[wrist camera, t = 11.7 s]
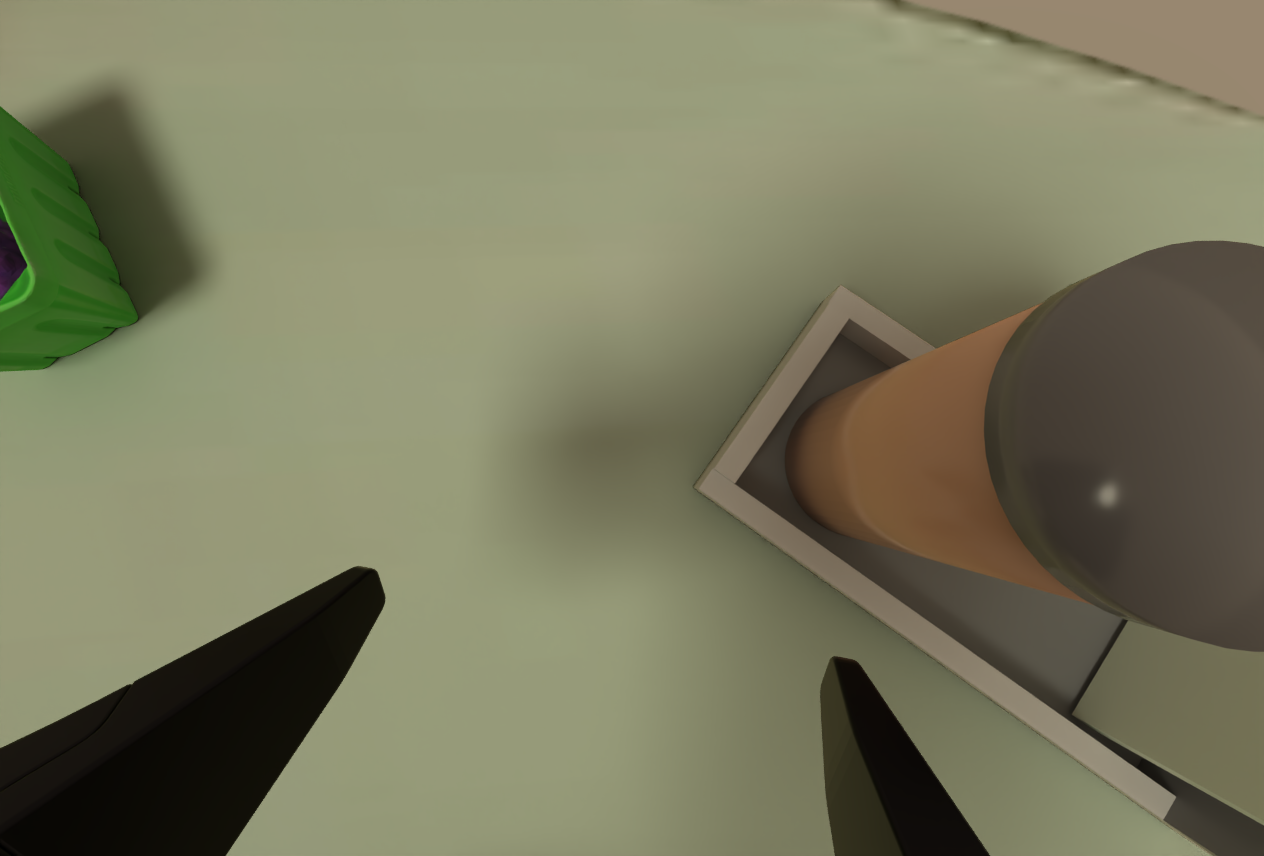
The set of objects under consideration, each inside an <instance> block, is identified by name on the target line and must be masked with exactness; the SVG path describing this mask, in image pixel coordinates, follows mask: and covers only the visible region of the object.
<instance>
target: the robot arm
mask: <svg viewBox="0 0 1264 856" xmlns="http://www.w3.org/2000/svg"><path fill="white" fill-rule="evenodd" d="M384 604H385V593H384V590H383V587H382V584H381V581H380V578H379V575H378V572H377V571H376V570H375V569H372V568H367V567H362V566H356V567H353V568H351V569H349V570H347V571H345V572H343V573H341V574H339V575H337V576H335V577H333V578H331V579H329V580H328V581H326V582H324V583H322V584H320V585H318V586H316V587H314V588H312V589H310V590H308V591H306V592H305V593H303V594H301V595H299V596H297V597H295V598H293V599H291V600H289V601H287V602H285V603H284V604H282V605H280V606H278V607H276V608H274V609H272V610H270V611H268V612H266V613H264V614H262V615H261V616H259V617H257V618H255V619H253V620H251V621H249V622H247V623H245V624H243V625H241V626H239V627H238V628H236V629H234V630H232V631H230V632H228V633H226V634H224V635H222V636H220V637H218V638H217V639H215V640H213V641H211V642H209V643H207V644H205V645H203V646H201V647H199V648H197V649H195V650H194V651H192V652H190V653H188V654H186V655H184V656H182V657H180V658H178V659H176V660H174V661H172V662H171V663H169V664H167V665H165V666H163V667H161V668H159V669H157V670H155V671H153V672H151V673H149V674H148V675H146V676H144V677H142V678H140V679H138V680H136V681H135V682H134V683H133V684H129V685H126V686H124V687H123V688H121V689H119V690H117V691H115V692H113V693H111V694H109V695H107V696H105V697H103V698H101V699H100V700H98V701H96V702H94V703H92V704H90V705H88V706H86V707H84V708H82V709H80V710H78V711H76V712H74V713H72V714H70V715H68V716H66V717H64V718H62V719H60V720H58V721H56V722H54V723H52V724H50V725H48V726H46V727H44V728H42V729H40V730H37V731H35V732H33V733H31V734H29V735H27V736H25V737H23V738H21V739H19V740H17V741H15V742H12V743H10V744H8V745H6V746H4V747H2V748H0V856H226V855H227V853H228V852H229V850H230V849H231V847H232V846H233V844H234V843H235V841H236V840H237V838H238V837H239V835H240V834H241V832H242V831H243V829H244V828H245V826H246V825H247V823H248V822H249V820H250V819H251V817H252V816H253V814H254V813H255V811H256V810H257V808H258V807H259V805H260V804H261V802H262V801H263V799H264V798H265V796H266V795H267V793H268V792H269V790H270V789H271V787H272V786H273V784H274V783H275V781H276V780H277V778H278V777H279V775H280V774H281V772H282V771H283V770H284V768H285V767H286V765H287V764H288V762H289V761H290V759H291V758H292V756H293V755H294V753H295V752H296V750H297V749H298V747H299V746H300V744H301V743H302V741H303V740H304V738H305V737H306V735H307V734H308V732H309V731H310V729H311V728H312V726H313V725H314V723H315V722H316V720H317V719H318V717H319V716H320V714H321V713H322V711H323V710H324V708H325V707H326V705H327V704H328V702H329V701H330V699H331V698H332V696H333V695H334V693H335V692H336V690H337V689H338V687H339V686H340V684H341V683H342V681H343V679H344V678H345V676H346V674H347V673H348V671H349V669H350V667H351V666H352V664H353V662H354V660H355V658H356V657H357V655H358V653H359V651H360V649H361V647H362V646H363V644H364V642H365V640H366V638H367V637H368V635H369V633H370V631H371V629H372V627H373V626H374V624H375V622H376V620H377V618H378V617H379V615H380V613H381V611H382V609H383V607H384ZM820 702H821V721H822V740H823V759H824V777H825V791H826V800H827V807H828V814H829V821H830V827H831V833H832V840H833V846H834V853H835V856H990V855H989V853H988V852H987V850H986V849H985V847H984V846H983V844H982V843H981V841H980V840H979V839H978V837H977V836H976V834H975V833H974V831H973V830H972V828H971V827H970V825H969V824H968V822H967V821H966V819H965V818H964V817H963V815H962V814H961V812H960V811H959V809H958V808H957V806H956V805H955V803H954V802H953V800H952V799H951V797H950V796H949V795H948V793H947V792H946V790H945V789H944V787H943V786H942V784H941V783H940V781H939V780H938V778H937V777H936V775H935V774H934V773H933V771H932V770H931V768H930V767H929V765H928V764H927V762H926V761H925V759H924V758H923V756H922V755H921V753H920V752H919V751H918V749H917V748H916V746H915V745H914V743H913V742H912V740H911V739H910V737H909V736H908V734H907V733H906V731H905V730H904V728H903V727H902V726H901V724H900V723H899V721H898V720H897V718H896V717H895V715H894V714H893V712H892V711H891V709H890V708H889V706H888V705H887V704H886V702H885V701H884V699H883V698H882V696H881V695H880V693H879V692H878V690H877V689H876V687H875V686H874V684H873V683H872V682H871V680H870V679H869V677H868V676H867V674H866V673H865V671H864V670H863V668H862V667H861V665H860V664H859V663H858V662H857V661H855V660H853V659H848V658H842V657H837V656H834V657H832V658H831V659H830V661H829V664H828V666H827V669H826V672H825V675H824V678H823V681H822V684H821V690H820Z"/></svg>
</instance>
